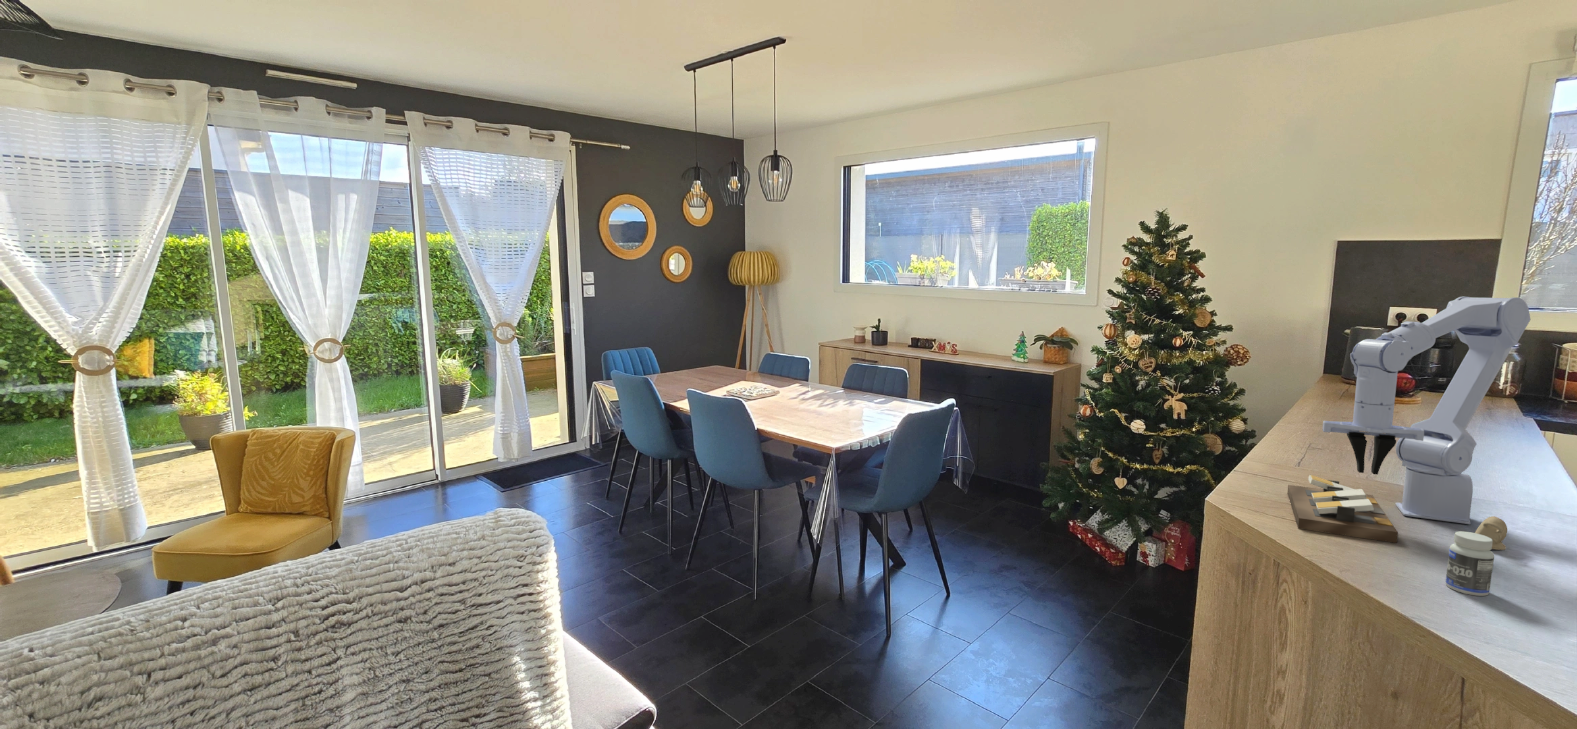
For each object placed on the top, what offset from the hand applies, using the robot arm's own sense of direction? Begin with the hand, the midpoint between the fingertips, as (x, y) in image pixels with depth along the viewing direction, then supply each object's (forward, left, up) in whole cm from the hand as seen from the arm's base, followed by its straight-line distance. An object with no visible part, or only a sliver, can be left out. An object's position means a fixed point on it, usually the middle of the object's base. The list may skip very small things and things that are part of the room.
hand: (1367, 472), depth 130 cm
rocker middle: (+4, 0, -5) cm, 7 cm away
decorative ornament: (-16, +6, -10) cm, 19 cm away
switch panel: (+4, 0, -9) cm, 10 cm away
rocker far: (+4, -7, -5) cm, 10 cm away
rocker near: (+4, +7, -5) cm, 10 cm away
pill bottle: (-8, +30, -10) cm, 32 cm away
